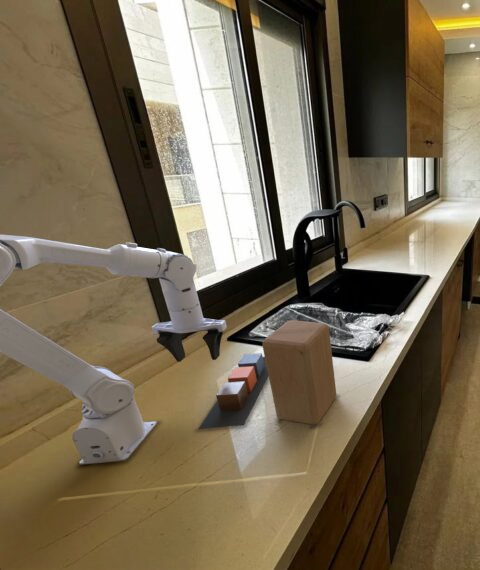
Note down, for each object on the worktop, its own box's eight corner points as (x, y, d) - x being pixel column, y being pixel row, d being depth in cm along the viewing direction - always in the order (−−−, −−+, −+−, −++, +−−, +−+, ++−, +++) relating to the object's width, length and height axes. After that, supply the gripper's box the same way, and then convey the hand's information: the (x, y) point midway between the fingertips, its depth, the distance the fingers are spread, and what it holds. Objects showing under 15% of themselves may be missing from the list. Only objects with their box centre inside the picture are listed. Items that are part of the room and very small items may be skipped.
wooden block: (317, 427, 69) (305, 346, 62) (275, 420, 71) (259, 340, 64) (338, 396, 78) (330, 322, 71) (300, 390, 80) (288, 317, 73)
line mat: (243, 425, 69) (243, 424, 69) (198, 429, 68) (198, 428, 68) (279, 357, 93) (278, 356, 93) (245, 359, 92) (245, 358, 92)
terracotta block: (250, 392, 79) (247, 377, 77) (231, 393, 78) (227, 378, 77) (257, 380, 83) (253, 366, 81) (238, 381, 83) (235, 367, 81)
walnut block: (241, 409, 73) (237, 393, 72) (220, 411, 73) (215, 395, 71) (248, 396, 78) (244, 381, 76) (228, 397, 77) (224, 382, 75)
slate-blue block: (259, 377, 84) (256, 362, 83) (241, 378, 84) (237, 363, 82) (264, 367, 88) (261, 353, 87) (247, 368, 88) (244, 354, 86)
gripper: (227, 297, 76) (238, 347, 81) (159, 299, 74) (175, 350, 79) (212, 310, 69) (225, 364, 74) (138, 313, 68) (156, 368, 73)
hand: (198, 358), depth 76 cm, fingers open, 7 cm apart
